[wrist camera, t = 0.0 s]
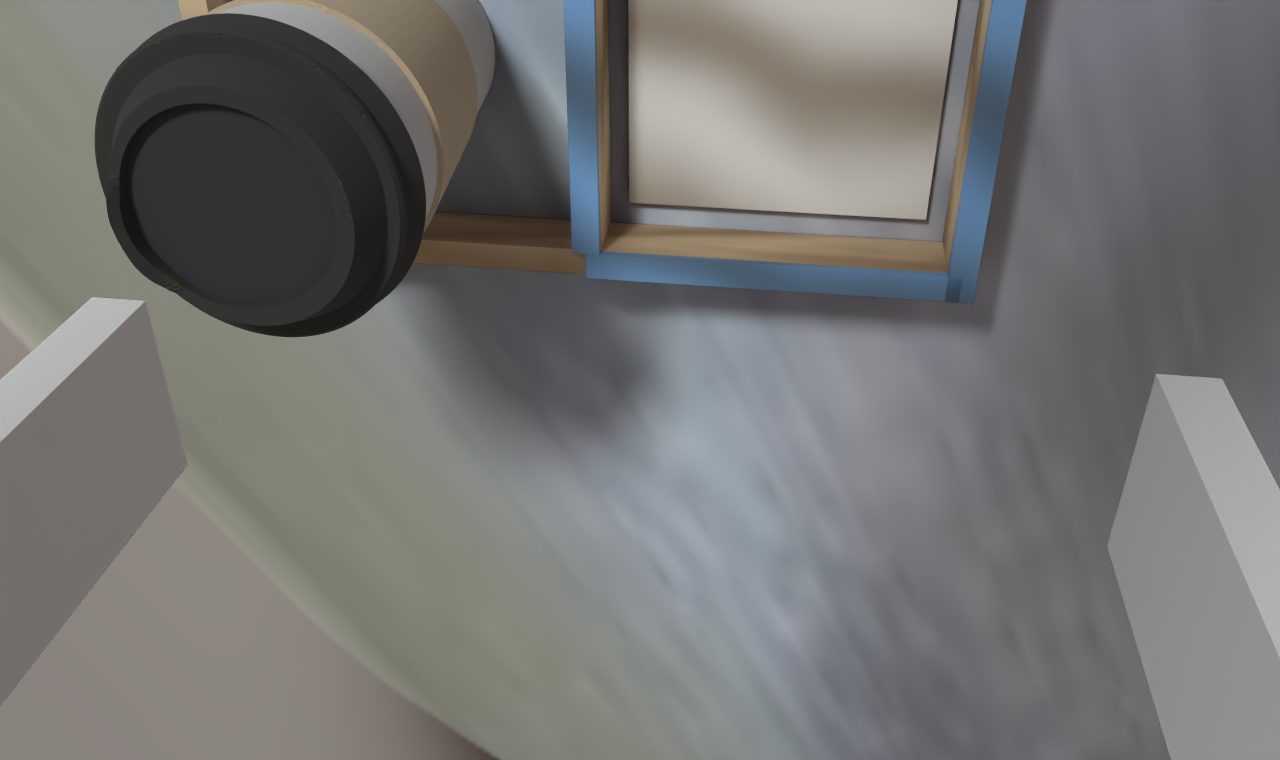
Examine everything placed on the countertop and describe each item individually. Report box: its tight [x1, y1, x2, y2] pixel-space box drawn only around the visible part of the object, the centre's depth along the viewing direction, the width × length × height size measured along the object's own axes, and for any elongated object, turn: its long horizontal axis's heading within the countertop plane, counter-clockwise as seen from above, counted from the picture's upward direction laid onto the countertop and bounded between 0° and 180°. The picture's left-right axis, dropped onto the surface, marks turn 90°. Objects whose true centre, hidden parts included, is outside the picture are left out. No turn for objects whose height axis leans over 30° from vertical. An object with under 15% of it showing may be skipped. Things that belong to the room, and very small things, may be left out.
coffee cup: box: [95, 0, 495, 337], centre depth 36 cm, size 9×9×15 cm
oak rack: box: [178, 0, 1027, 304], centre depth 40 cm, size 15×28×3 cm, turn 90°
